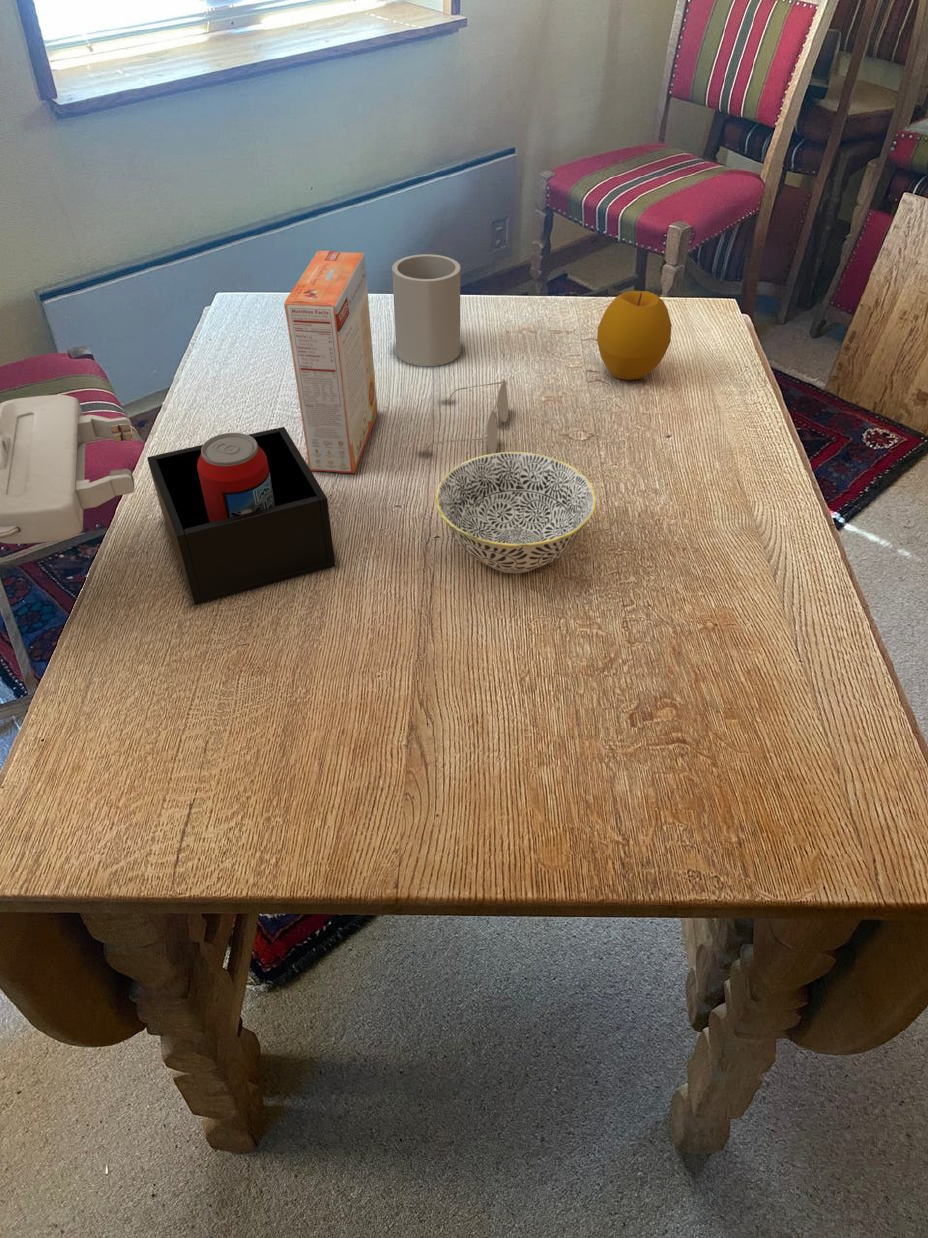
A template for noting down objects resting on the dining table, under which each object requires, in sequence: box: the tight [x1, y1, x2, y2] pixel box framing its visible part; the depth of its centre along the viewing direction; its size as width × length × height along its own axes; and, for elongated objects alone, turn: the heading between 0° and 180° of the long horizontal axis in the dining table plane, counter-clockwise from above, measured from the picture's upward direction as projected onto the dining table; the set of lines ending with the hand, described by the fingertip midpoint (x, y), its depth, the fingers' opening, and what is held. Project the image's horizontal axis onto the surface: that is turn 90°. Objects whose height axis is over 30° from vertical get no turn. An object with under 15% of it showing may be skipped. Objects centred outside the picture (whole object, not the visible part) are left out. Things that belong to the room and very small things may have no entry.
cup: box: [391, 253, 461, 367], centre depth 125 cm, size 9×9×12 cm
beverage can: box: [197, 432, 275, 523], centre depth 91 cm, size 7×7×12 cm
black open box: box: [146, 426, 336, 606], centre depth 93 cm, size 15×15×9 cm
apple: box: [596, 290, 672, 381], centre depth 120 cm, size 10×10×12 cm
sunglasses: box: [422, 379, 509, 456], centre depth 112 cm, size 14×8×5 cm, turn 168°
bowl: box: [435, 451, 597, 574], centre depth 93 cm, size 16×16×8 cm
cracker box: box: [283, 250, 379, 474], centre depth 104 cm, size 14×6×21 cm, turn 172°
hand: (132, 453), depth 85 cm, fingers open, 8 cm apart
